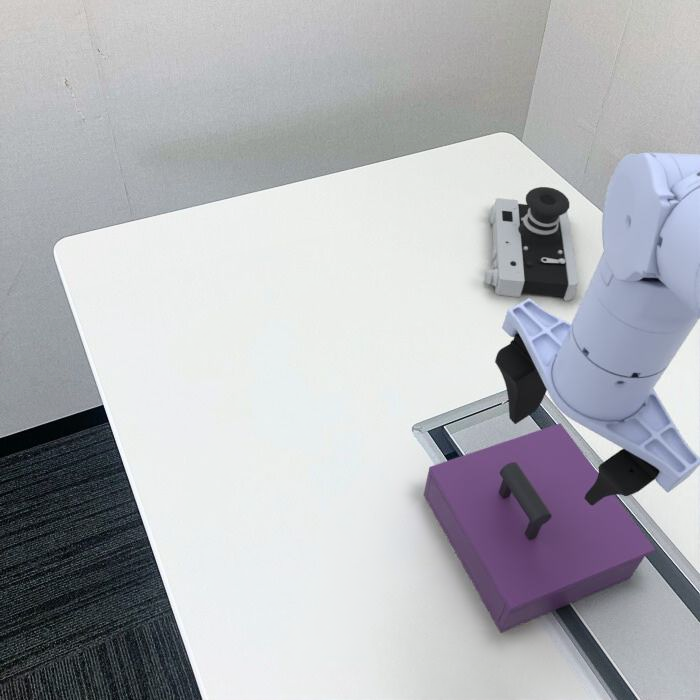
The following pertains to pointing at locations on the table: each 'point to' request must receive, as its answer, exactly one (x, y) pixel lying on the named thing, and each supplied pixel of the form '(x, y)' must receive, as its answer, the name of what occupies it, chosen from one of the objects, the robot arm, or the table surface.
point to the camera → (533, 246)
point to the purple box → (488, 589)
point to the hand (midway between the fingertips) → (558, 453)
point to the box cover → (537, 515)
